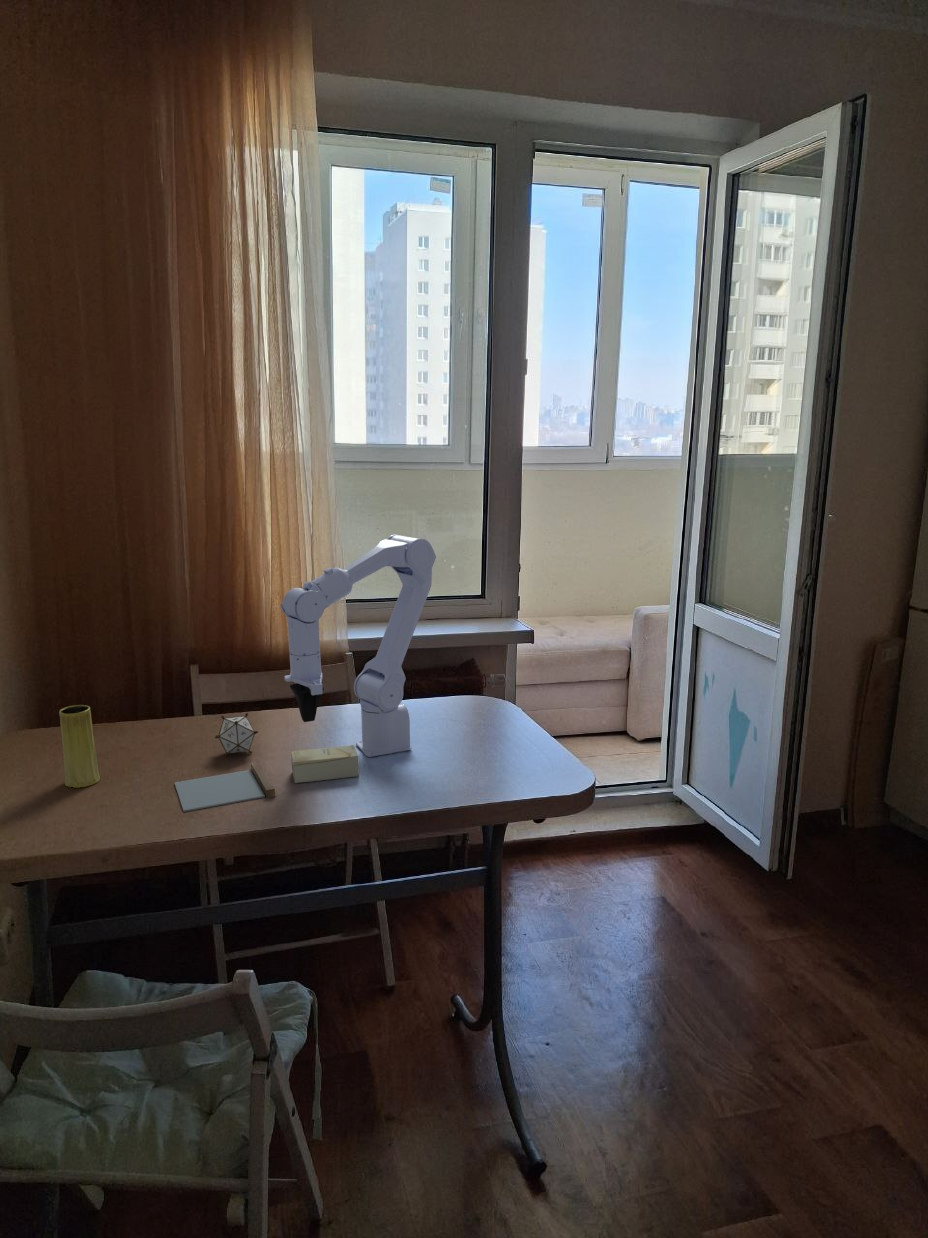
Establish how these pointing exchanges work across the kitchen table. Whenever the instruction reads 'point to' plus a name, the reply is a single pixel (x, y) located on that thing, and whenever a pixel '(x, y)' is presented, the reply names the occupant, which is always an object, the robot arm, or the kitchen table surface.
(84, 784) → the vase
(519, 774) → the kitchen table surface
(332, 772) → the skincare box
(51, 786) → the kitchen table surface
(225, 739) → the game die
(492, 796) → the kitchen table surface
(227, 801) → the felt mat
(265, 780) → the walnut rail
